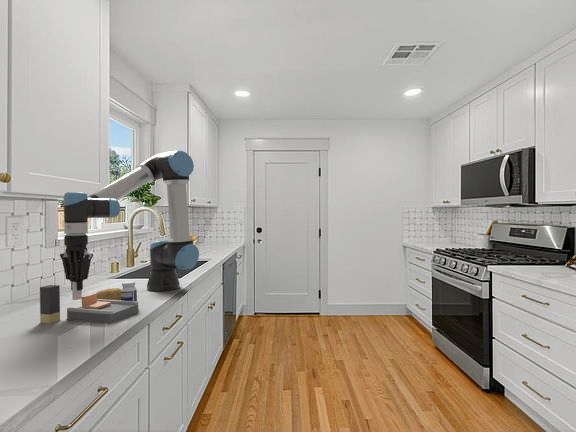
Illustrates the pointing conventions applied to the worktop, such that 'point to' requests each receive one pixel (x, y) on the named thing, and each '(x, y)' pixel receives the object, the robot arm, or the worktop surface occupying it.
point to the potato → (109, 294)
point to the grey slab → (104, 312)
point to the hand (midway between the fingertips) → (77, 299)
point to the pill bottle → (128, 291)
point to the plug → (49, 304)
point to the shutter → (93, 302)
